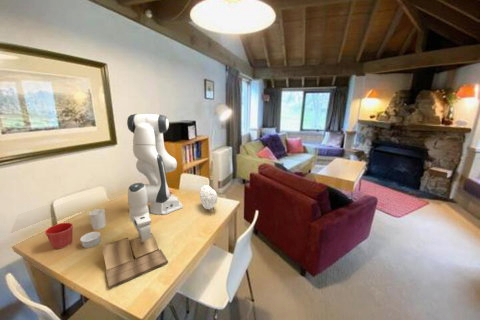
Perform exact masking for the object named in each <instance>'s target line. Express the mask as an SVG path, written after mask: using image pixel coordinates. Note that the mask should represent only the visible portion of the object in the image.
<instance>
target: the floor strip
mask: <svg viewBox="0 0 480 320" xmlns="http://www.w3.org/2000/svg"><path fill="white" fill-rule="evenodd" d="M167 263H168V264H169V260H168V259H167V256H166V255H165V254H164V252H163V251H162V250H161V249H160V248H159V250H158V251H155V252H153V253H150V254H148V255H145V256H143V257H140V258H138V259H134V260H133V261H130V262H128V263H125V264H123V265H120V266H117V267H115V268H112V269H110V270H105V276H106V280H107V285H108V289H109V290H112V289H113V288H116V287H118V286H120V285H122V284H125V283H127V282H129V281H131V280H133V279H136V278H138V277H141V276H143V275H145V274H147V273H149V272H152V271H154V270H157V269H159V268H161V267H162V266H165V265H167Z"/></svg>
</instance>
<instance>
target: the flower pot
mask: <svg viewBox="0 0 480 320" xmlns="http://www.w3.org/2000/svg"><path fill="white" fill-rule="evenodd" d="M73 231H74V224H73V223H71V222H62V223H57V224H55V225H52V226H50V227H48V228H47V229H46V230H45V232H44V234H45V235H46V237H47V239H48V241H49V242H50V245H51V246H52V248H53V249H55V250H59V249H63V248H65V247H68V246H69V245H71V243H72V242H73Z"/></svg>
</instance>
